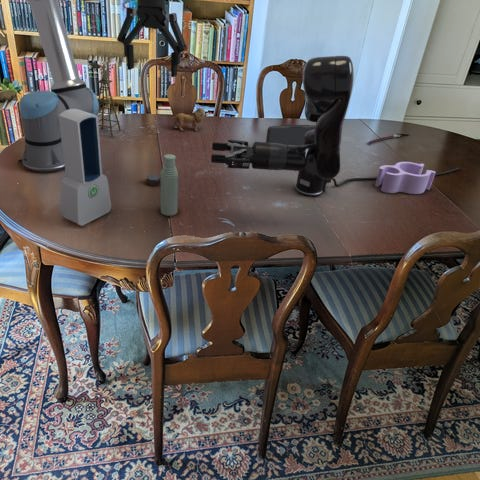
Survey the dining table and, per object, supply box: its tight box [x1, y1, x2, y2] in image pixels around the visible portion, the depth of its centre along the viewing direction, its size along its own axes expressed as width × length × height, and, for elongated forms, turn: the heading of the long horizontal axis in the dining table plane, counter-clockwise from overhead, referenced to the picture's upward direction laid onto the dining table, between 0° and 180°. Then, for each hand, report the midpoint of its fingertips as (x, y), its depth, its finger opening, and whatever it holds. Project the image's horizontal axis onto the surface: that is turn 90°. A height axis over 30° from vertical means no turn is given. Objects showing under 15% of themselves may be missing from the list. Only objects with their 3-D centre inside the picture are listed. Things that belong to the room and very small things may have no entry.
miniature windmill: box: [91, 55, 122, 138], centre depth 181 cm, size 9×8×30 cm
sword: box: [367, 133, 409, 145], centre depth 213 cm, size 31×3×1 cm, turn 126°
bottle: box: [160, 153, 179, 217], centre depth 135 cm, size 5×5×18 cm
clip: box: [374, 161, 436, 195], centre depth 169 cm, size 20×12×7 cm, turn 109°
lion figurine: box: [170, 107, 206, 132], centre depth 198 cm, size 15×5×9 cm, turn 110°
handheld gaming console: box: [265, 124, 316, 146], centre depth 189 cm, size 23×3×10 cm, turn 108°
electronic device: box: [59, 109, 112, 227], centre depth 126 cm, size 12×8×30 cm, turn 148°
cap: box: [146, 173, 161, 187], centre depth 154 cm, size 4×4×2 cm
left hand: (152, 72), depth 136 cm, fingers open, 13 cm apart
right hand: (211, 152), depth 130 cm, fingers open, 8 cm apart
